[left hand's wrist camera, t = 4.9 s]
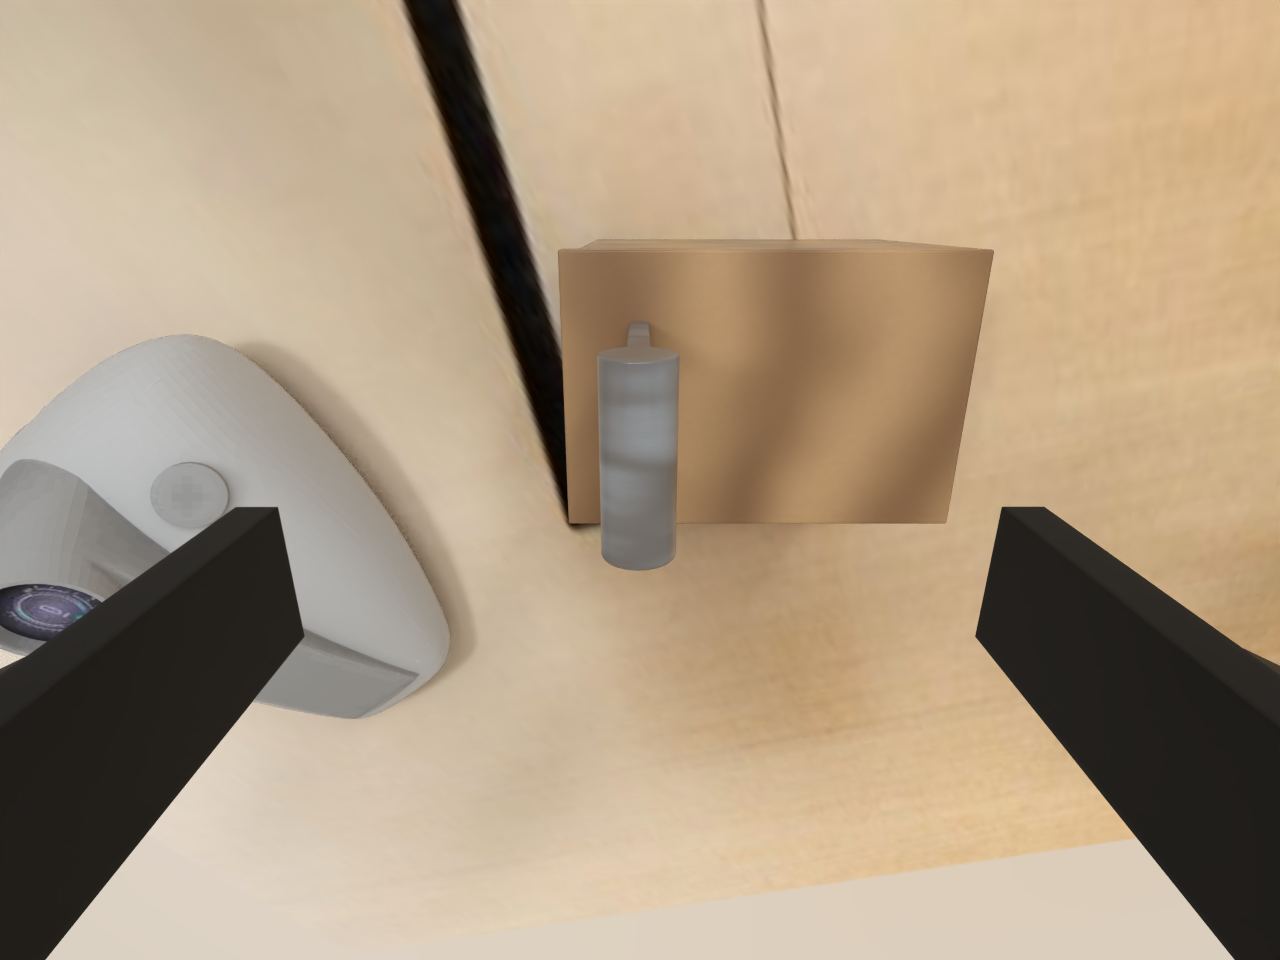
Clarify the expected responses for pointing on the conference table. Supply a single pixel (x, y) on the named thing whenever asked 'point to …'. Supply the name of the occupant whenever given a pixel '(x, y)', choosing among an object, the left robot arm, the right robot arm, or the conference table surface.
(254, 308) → the conference table surface
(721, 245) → the chest
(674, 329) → the lid
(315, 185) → the conference table surface
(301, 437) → the projector
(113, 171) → the conference table surface
